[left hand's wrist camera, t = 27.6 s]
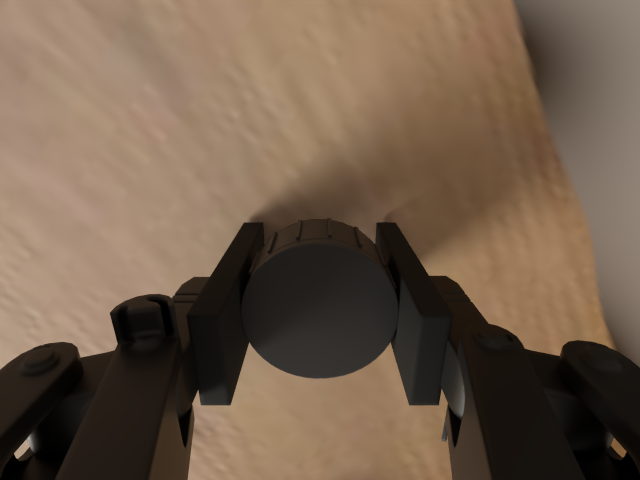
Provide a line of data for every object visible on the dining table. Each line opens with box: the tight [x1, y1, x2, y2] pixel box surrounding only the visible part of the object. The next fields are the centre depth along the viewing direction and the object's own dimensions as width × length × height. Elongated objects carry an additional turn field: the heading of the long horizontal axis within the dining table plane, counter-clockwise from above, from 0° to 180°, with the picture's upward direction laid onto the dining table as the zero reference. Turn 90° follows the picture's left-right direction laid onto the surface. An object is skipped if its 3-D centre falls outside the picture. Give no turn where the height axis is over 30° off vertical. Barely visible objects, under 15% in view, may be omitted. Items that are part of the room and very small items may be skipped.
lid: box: [241, 218, 399, 379], centre depth 11 cm, size 5×5×2 cm
